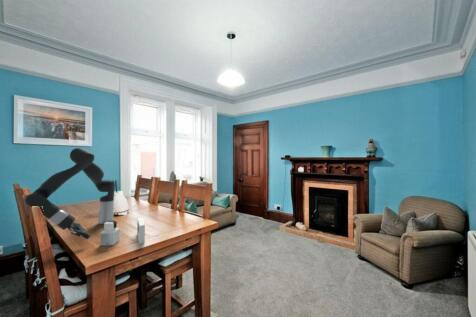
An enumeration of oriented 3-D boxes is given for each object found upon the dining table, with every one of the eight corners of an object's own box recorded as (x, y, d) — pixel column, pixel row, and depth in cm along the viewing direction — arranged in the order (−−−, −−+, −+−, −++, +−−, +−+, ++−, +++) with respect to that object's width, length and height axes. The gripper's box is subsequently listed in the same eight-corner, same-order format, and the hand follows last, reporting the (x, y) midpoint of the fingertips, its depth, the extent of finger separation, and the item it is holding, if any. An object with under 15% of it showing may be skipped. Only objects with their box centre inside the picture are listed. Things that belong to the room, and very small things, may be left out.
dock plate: (139, 243, 129) (139, 225, 128) (137, 233, 144) (137, 217, 144) (144, 242, 130) (144, 225, 130) (142, 233, 146) (142, 217, 146)
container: (106, 240, 133) (107, 219, 132) (119, 240, 133) (120, 219, 133) (99, 245, 125) (100, 223, 125) (113, 245, 126) (114, 223, 125)
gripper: (65, 217, 113) (92, 236, 119) (70, 211, 125) (95, 228, 131) (52, 228, 111) (81, 247, 117) (59, 221, 122) (84, 238, 128)
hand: (88, 237), depth 124 cm, fingers closed
